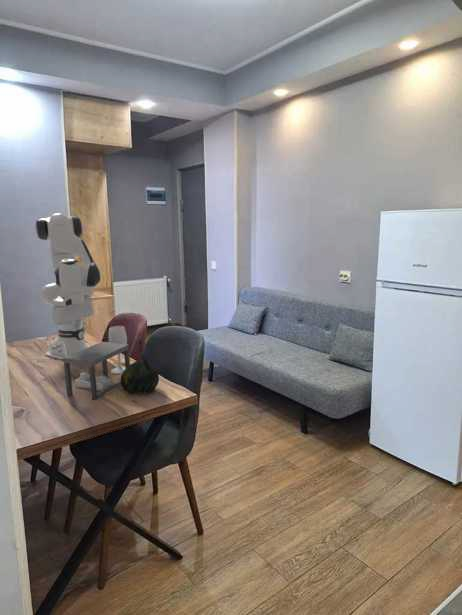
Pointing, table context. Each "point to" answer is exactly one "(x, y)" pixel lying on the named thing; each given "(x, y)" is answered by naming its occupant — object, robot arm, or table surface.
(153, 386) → the squash
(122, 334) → the wineglass
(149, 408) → the table surface
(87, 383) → the tray
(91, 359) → the side table
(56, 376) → the table surface
